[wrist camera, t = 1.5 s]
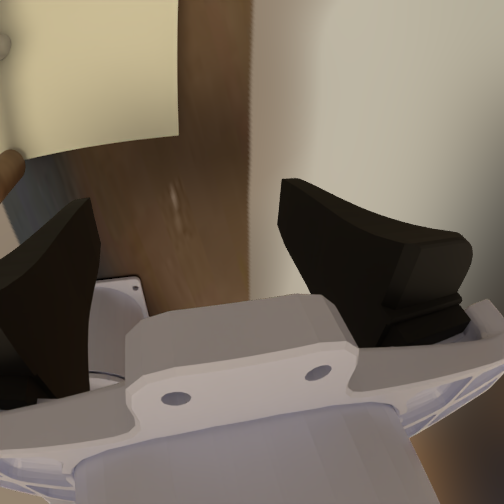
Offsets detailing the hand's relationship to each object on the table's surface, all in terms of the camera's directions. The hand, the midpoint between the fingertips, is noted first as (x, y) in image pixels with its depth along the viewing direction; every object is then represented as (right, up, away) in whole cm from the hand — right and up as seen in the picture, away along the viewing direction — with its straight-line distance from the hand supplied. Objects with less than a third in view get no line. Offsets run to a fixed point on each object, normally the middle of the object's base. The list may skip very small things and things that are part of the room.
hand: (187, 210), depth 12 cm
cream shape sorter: (-8, +16, -1) cm, 18 cm away
